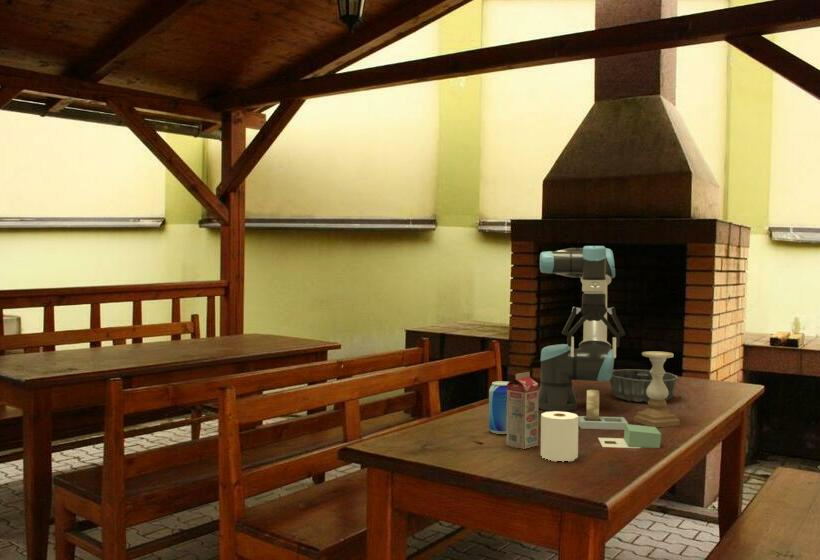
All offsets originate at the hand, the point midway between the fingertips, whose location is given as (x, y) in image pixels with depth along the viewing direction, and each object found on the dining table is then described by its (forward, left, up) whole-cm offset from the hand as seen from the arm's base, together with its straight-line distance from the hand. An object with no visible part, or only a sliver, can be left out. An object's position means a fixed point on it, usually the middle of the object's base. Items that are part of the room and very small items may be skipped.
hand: (593, 356), depth 251 cm
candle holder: (+22, +8, -24) cm, 33 cm away
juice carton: (-24, -28, -24) cm, 44 cm away
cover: (+12, -22, -23) cm, 34 cm away
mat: (+5, -22, -23) cm, 33 cm away
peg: (0, 0, -23) cm, 23 cm away
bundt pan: (+25, +51, -24) cm, 61 cm away
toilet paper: (-14, -39, -24) cm, 48 cm away
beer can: (-30, -12, -24) cm, 40 cm away
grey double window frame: (+3, 0, -23) cm, 23 cm away
